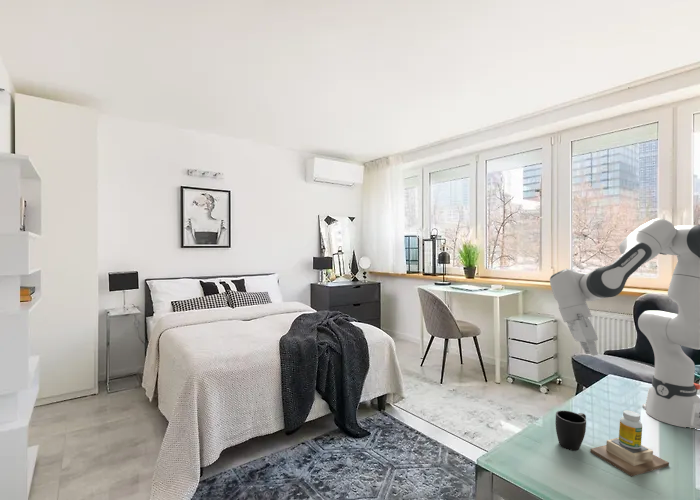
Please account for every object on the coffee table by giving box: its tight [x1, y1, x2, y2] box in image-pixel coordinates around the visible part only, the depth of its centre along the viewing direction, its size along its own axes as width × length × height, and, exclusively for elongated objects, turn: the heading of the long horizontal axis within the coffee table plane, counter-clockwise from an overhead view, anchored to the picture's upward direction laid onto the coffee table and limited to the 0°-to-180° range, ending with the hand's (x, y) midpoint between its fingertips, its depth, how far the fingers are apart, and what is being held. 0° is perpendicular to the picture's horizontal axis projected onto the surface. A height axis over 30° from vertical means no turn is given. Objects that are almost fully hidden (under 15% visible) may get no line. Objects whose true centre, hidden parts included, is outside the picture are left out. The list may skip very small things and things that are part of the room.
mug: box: [554, 410, 587, 452], centre depth 117 cm, size 8×12×10 cm
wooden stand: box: [589, 437, 670, 477], centre depth 110 cm, size 16×12×4 cm
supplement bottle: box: [618, 409, 643, 449], centre depth 110 cm, size 5×5×10 cm
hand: (591, 354), depth 126 cm, fingers open, 8 cm apart
